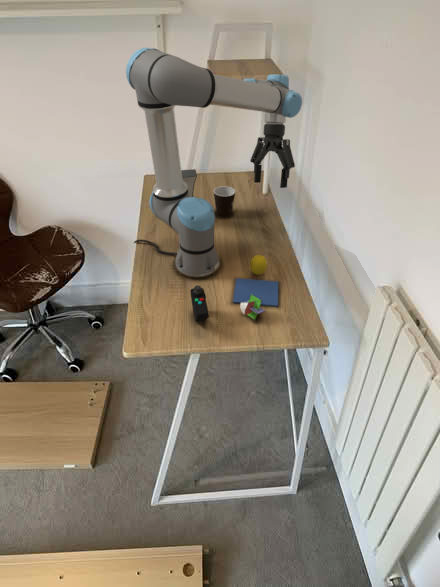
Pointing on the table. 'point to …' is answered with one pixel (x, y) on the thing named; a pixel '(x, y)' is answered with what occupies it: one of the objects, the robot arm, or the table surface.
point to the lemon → (258, 264)
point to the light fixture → (189, 179)
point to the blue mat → (256, 291)
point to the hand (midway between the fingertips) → (270, 185)
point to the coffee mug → (224, 200)
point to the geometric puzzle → (252, 307)
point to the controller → (199, 304)
